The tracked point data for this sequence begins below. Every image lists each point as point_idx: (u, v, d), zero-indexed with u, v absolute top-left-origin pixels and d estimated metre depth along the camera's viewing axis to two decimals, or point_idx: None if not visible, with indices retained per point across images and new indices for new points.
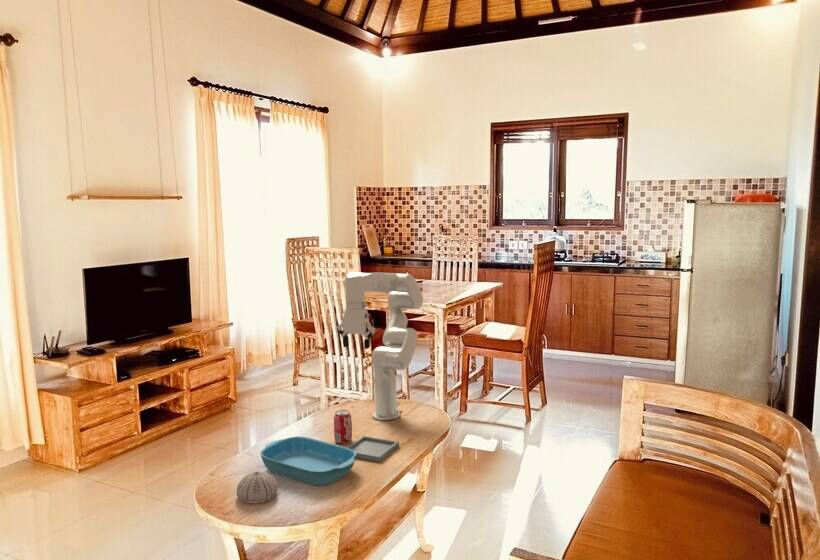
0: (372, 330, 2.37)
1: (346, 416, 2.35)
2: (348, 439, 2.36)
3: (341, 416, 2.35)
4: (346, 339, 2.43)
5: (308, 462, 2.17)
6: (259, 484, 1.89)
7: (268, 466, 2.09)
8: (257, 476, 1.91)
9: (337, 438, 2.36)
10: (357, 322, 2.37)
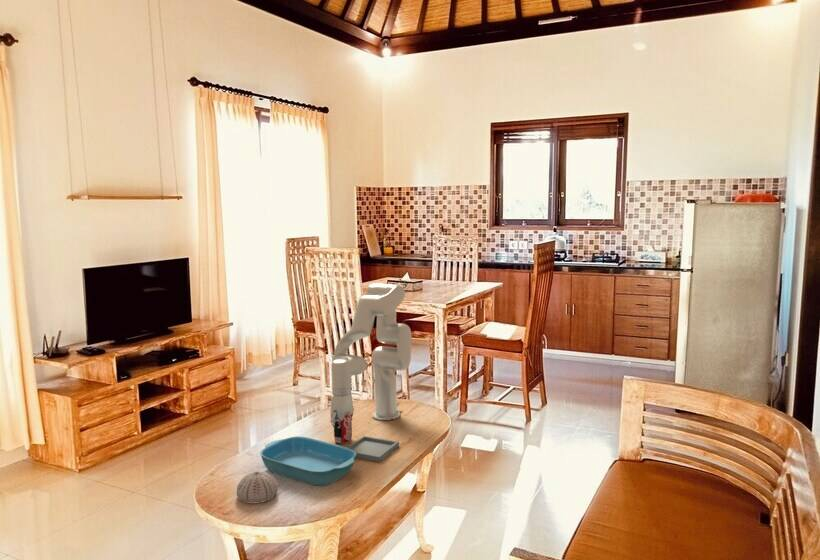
0: (353, 410, 2.44)
1: (346, 416, 2.35)
2: (348, 439, 2.36)
3: None
4: None
5: (308, 462, 2.17)
6: (259, 484, 1.89)
7: (268, 466, 2.09)
8: (257, 476, 1.91)
9: (337, 438, 2.36)
10: (350, 404, 2.38)
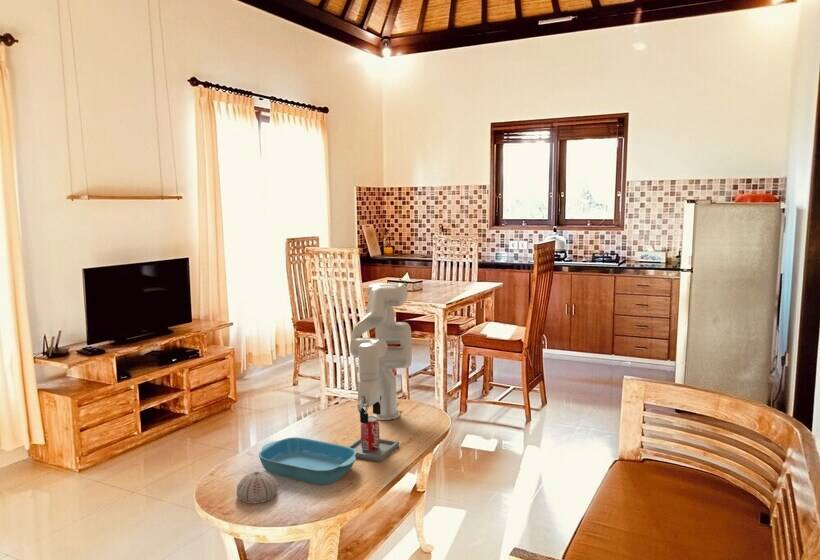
0: (381, 392, 2.34)
1: (374, 423, 2.25)
2: (376, 447, 2.26)
3: (369, 423, 2.24)
4: None
5: (306, 462, 2.17)
6: (259, 484, 1.89)
7: (268, 468, 2.08)
8: (257, 476, 1.91)
9: (364, 446, 2.25)
10: (377, 390, 2.27)
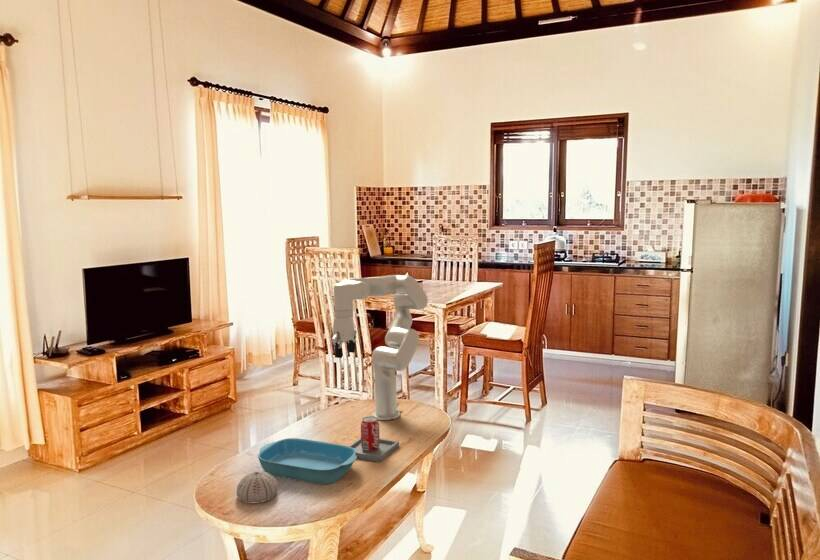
0: (355, 332, 2.49)
1: (374, 423, 2.25)
2: (376, 447, 2.26)
3: (369, 423, 2.24)
4: None
5: (305, 462, 2.17)
6: (259, 484, 1.89)
7: (268, 469, 2.07)
8: (257, 476, 1.91)
9: (364, 446, 2.25)
10: (352, 328, 2.43)
